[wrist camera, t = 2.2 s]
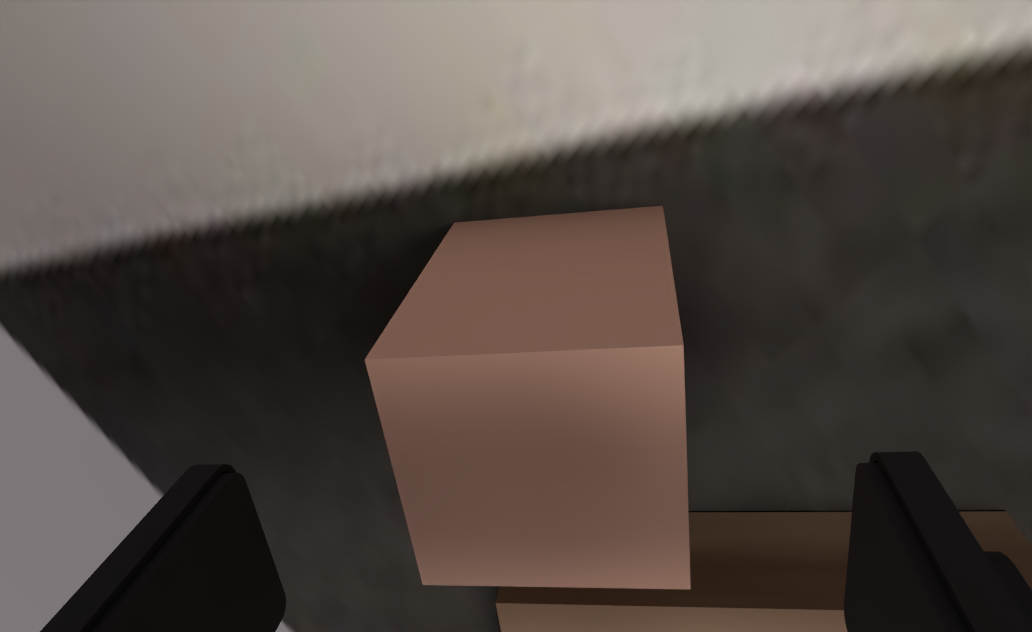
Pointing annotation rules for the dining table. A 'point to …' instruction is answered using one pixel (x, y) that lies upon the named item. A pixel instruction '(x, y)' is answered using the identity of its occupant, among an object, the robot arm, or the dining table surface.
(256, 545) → the robot arm
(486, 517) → the terracotta block
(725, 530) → the walnut base
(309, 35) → the dining table surface
